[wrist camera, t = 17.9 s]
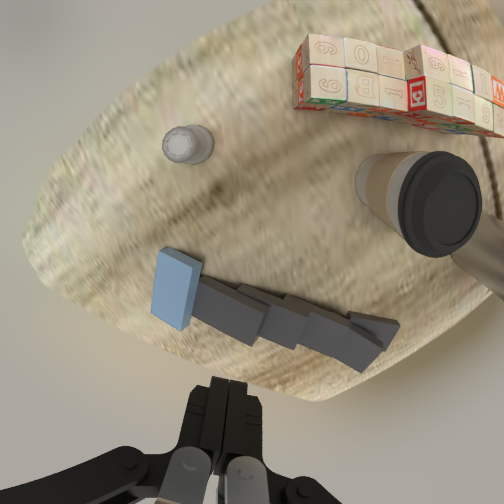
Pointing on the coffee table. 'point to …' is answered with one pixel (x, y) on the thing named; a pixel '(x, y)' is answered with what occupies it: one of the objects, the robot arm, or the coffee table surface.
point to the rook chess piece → (188, 144)
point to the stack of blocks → (397, 86)
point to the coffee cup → (423, 198)
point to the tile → (175, 287)
